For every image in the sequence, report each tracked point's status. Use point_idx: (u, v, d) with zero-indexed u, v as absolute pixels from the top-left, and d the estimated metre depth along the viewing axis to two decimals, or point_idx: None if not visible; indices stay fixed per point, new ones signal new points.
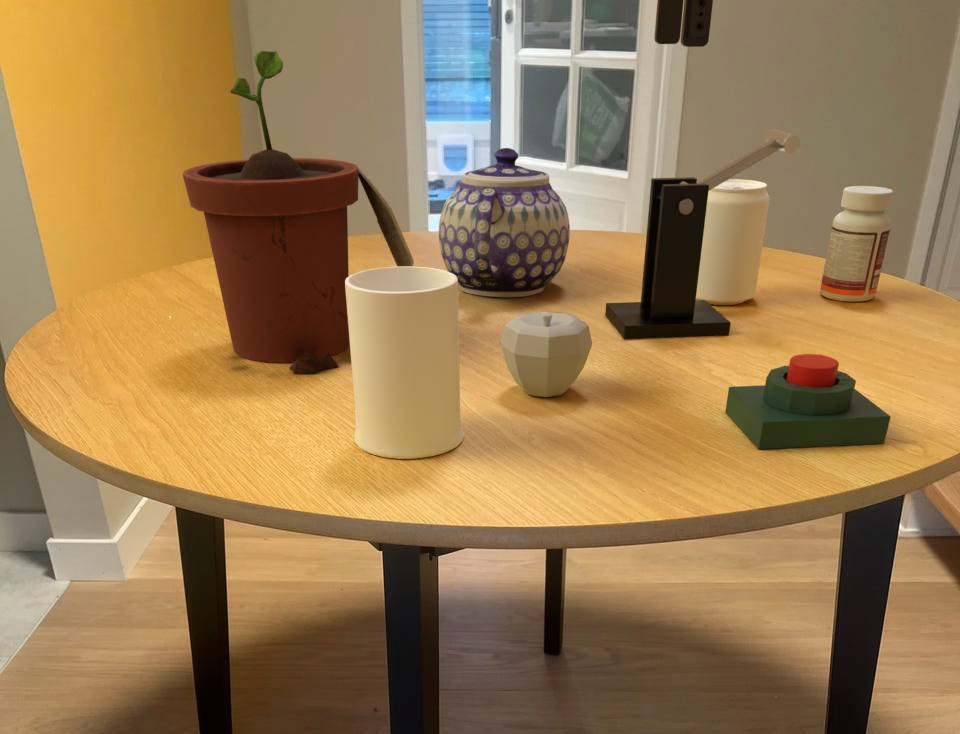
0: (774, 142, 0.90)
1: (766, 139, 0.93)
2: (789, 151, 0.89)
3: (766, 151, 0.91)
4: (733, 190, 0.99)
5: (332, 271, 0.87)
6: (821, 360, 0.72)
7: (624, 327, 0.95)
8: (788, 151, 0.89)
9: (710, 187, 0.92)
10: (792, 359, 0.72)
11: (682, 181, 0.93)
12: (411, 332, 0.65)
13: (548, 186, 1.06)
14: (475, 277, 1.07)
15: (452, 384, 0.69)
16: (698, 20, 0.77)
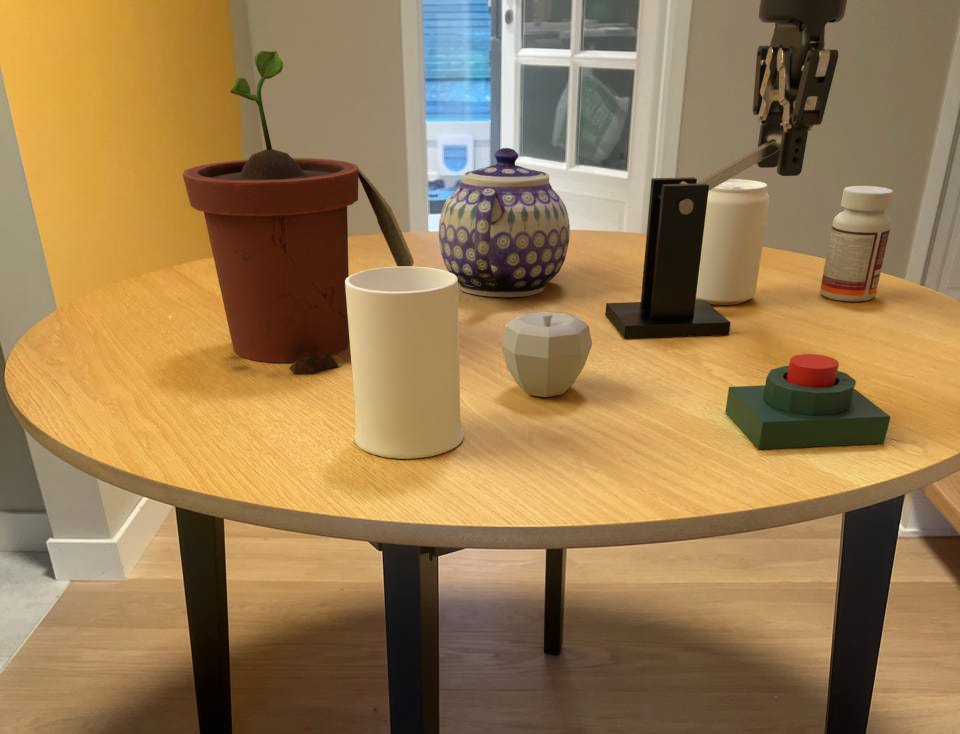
0: (774, 142, 0.91)
1: (766, 139, 0.93)
2: None
3: (766, 151, 0.91)
4: (733, 190, 0.99)
5: (332, 271, 0.87)
6: (821, 360, 0.72)
7: (624, 327, 0.95)
8: None
9: (710, 187, 0.92)
10: (792, 359, 0.72)
11: (682, 181, 0.93)
12: (411, 332, 0.65)
13: (548, 186, 1.06)
14: (475, 277, 1.07)
15: (452, 384, 0.69)
16: (794, 155, 0.88)
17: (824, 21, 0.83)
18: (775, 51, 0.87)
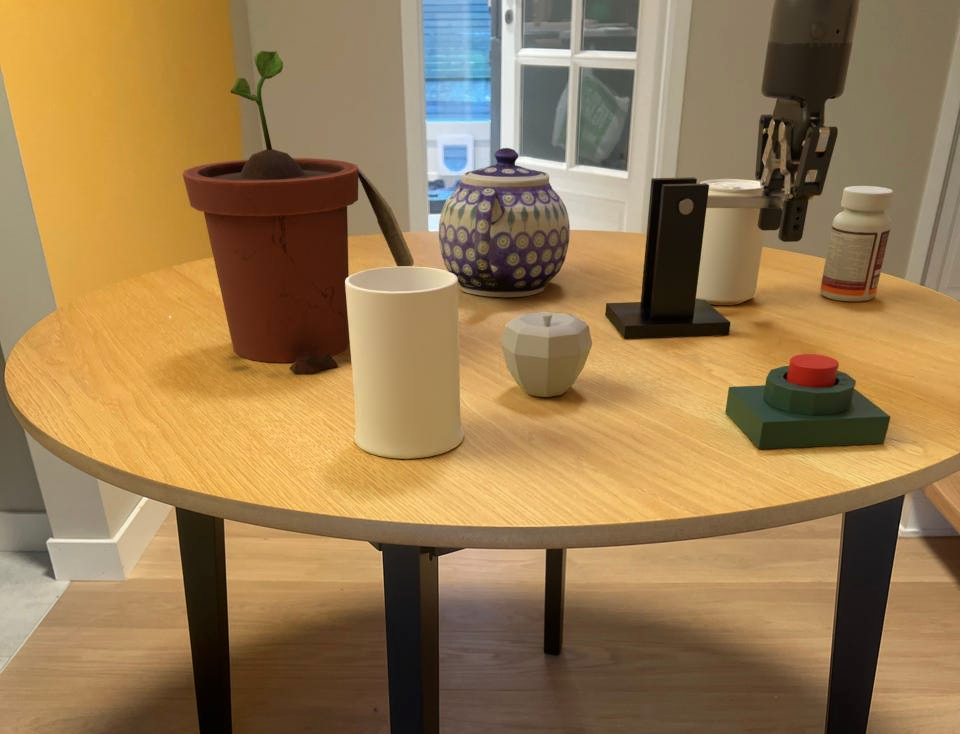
0: (779, 199, 0.93)
1: (770, 195, 0.96)
2: None
3: (769, 202, 0.94)
4: (733, 190, 0.99)
5: (332, 271, 0.87)
6: (821, 360, 0.72)
7: (624, 327, 0.95)
8: None
9: (710, 205, 0.93)
10: (792, 359, 0.72)
11: None
12: (411, 332, 0.65)
13: (548, 186, 1.06)
14: (475, 277, 1.07)
15: (452, 384, 0.69)
16: (795, 223, 0.92)
17: (824, 98, 0.86)
18: (777, 123, 0.91)
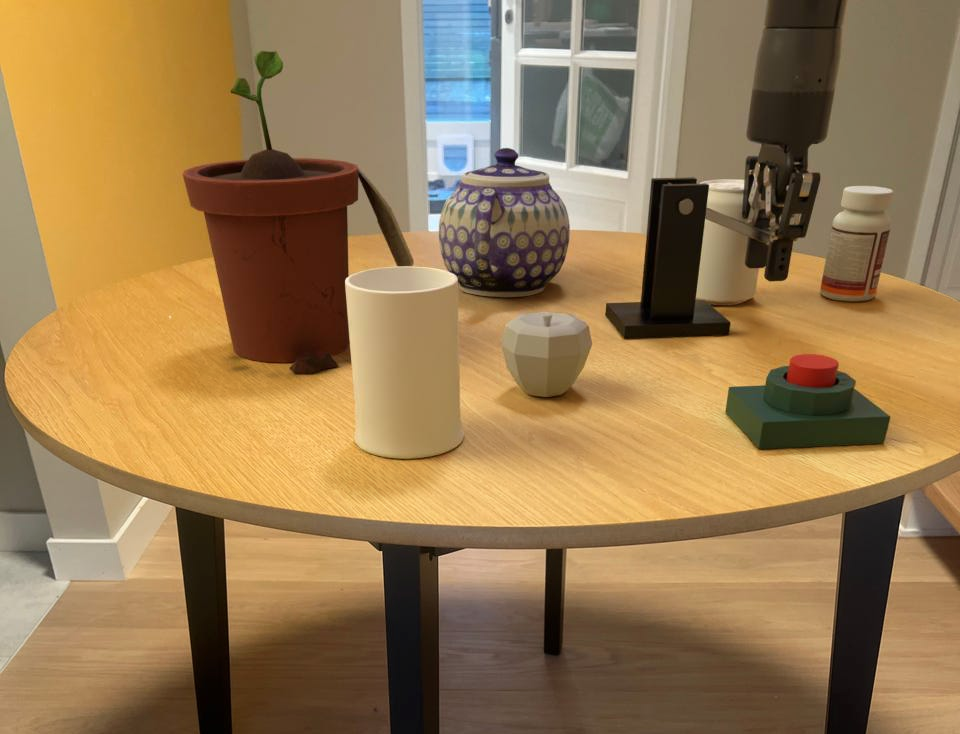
0: (768, 234, 0.95)
1: None
2: None
3: (758, 234, 0.95)
4: (733, 190, 0.99)
5: (332, 271, 0.87)
6: (821, 360, 0.72)
7: (624, 327, 0.95)
8: None
9: (706, 216, 0.94)
10: (792, 359, 0.72)
11: None
12: (411, 332, 0.65)
13: (548, 186, 1.06)
14: (475, 277, 1.07)
15: (452, 384, 0.69)
16: (780, 263, 0.94)
17: (807, 144, 0.88)
18: (762, 166, 0.93)
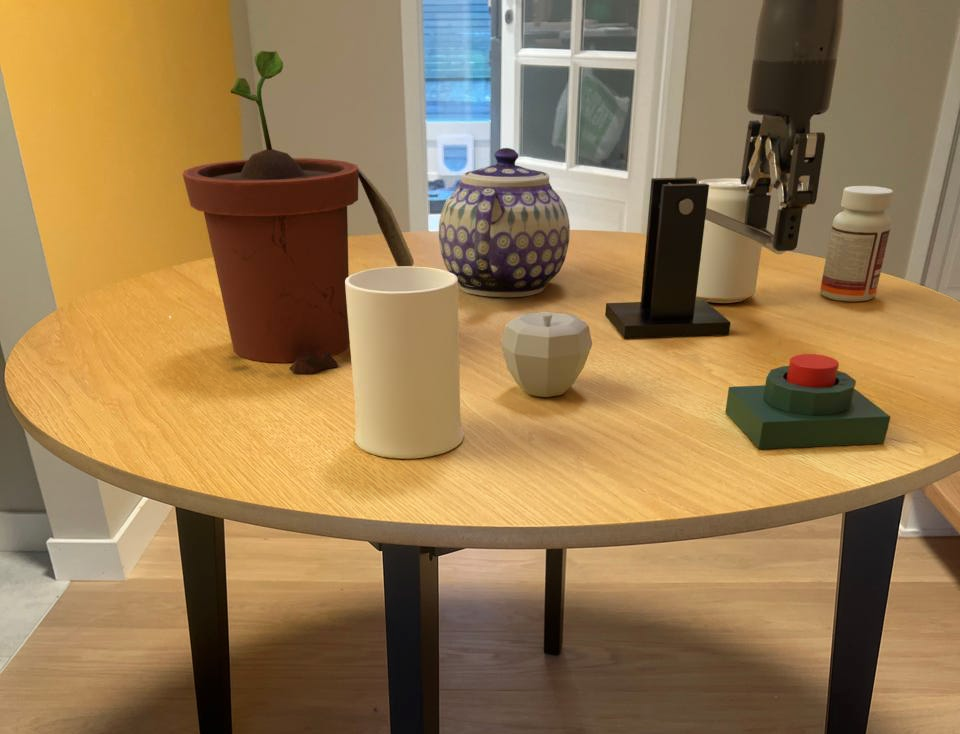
0: (768, 235, 0.95)
1: None
2: None
3: (758, 235, 0.95)
4: (732, 187, 0.99)
5: (332, 271, 0.87)
6: (821, 360, 0.72)
7: (624, 327, 0.95)
8: (774, 249, 0.94)
9: (706, 217, 0.94)
10: (792, 359, 0.72)
11: None
12: (411, 332, 0.65)
13: (548, 186, 1.06)
14: (475, 277, 1.07)
15: (452, 384, 0.69)
16: (789, 232, 0.91)
17: (809, 115, 0.87)
18: (764, 139, 0.91)
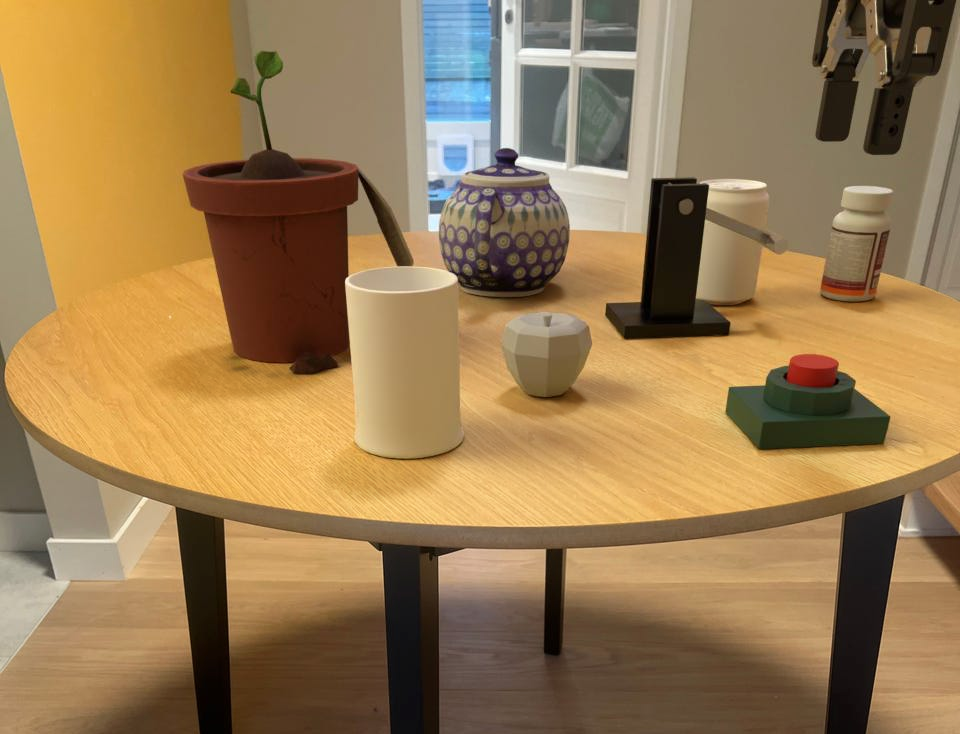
0: (768, 235, 0.95)
1: None
2: (775, 249, 0.94)
3: (758, 235, 0.95)
4: (733, 190, 0.99)
5: (332, 271, 0.87)
6: (821, 360, 0.72)
7: (624, 327, 0.95)
8: (774, 249, 0.94)
9: (706, 217, 0.94)
10: (792, 359, 0.72)
11: None
12: (411, 332, 0.65)
13: (548, 186, 1.06)
14: (475, 277, 1.07)
15: (452, 384, 0.69)
16: (892, 123, 0.59)
17: None
18: None
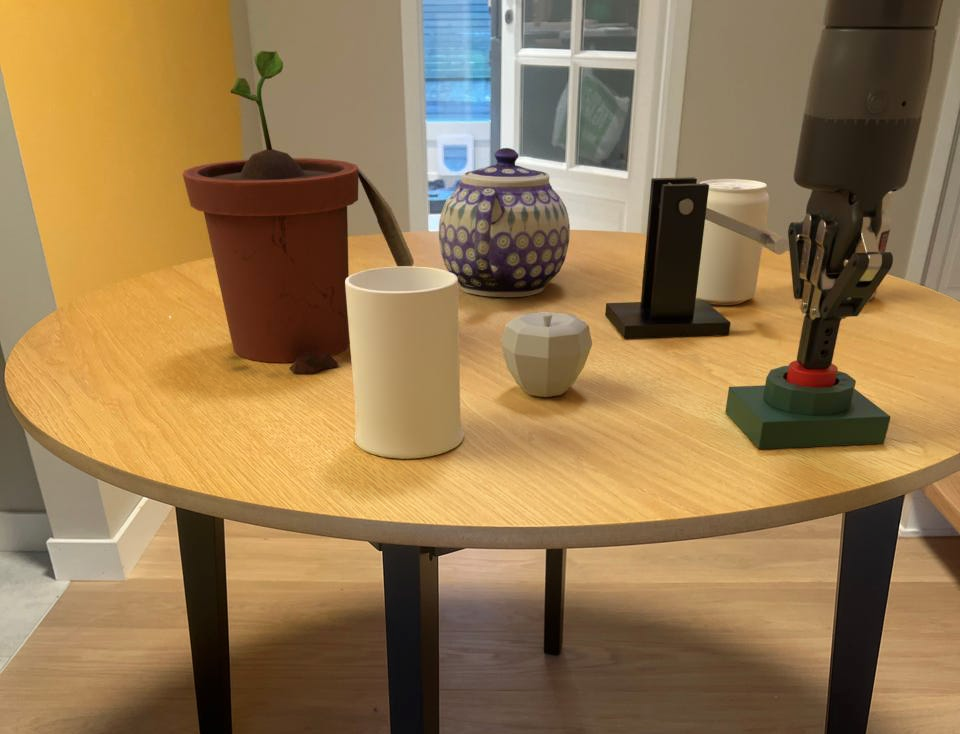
0: (768, 235, 0.95)
1: None
2: (775, 249, 0.94)
3: (758, 235, 0.95)
4: (733, 190, 0.99)
5: (332, 271, 0.87)
6: None
7: (624, 327, 0.95)
8: (774, 249, 0.94)
9: (706, 217, 0.94)
10: (791, 365, 0.73)
11: None
12: (411, 332, 0.65)
13: (548, 186, 1.06)
14: (475, 277, 1.07)
15: (452, 384, 0.69)
16: (823, 347, 0.70)
17: (882, 193, 0.62)
18: (814, 220, 0.67)
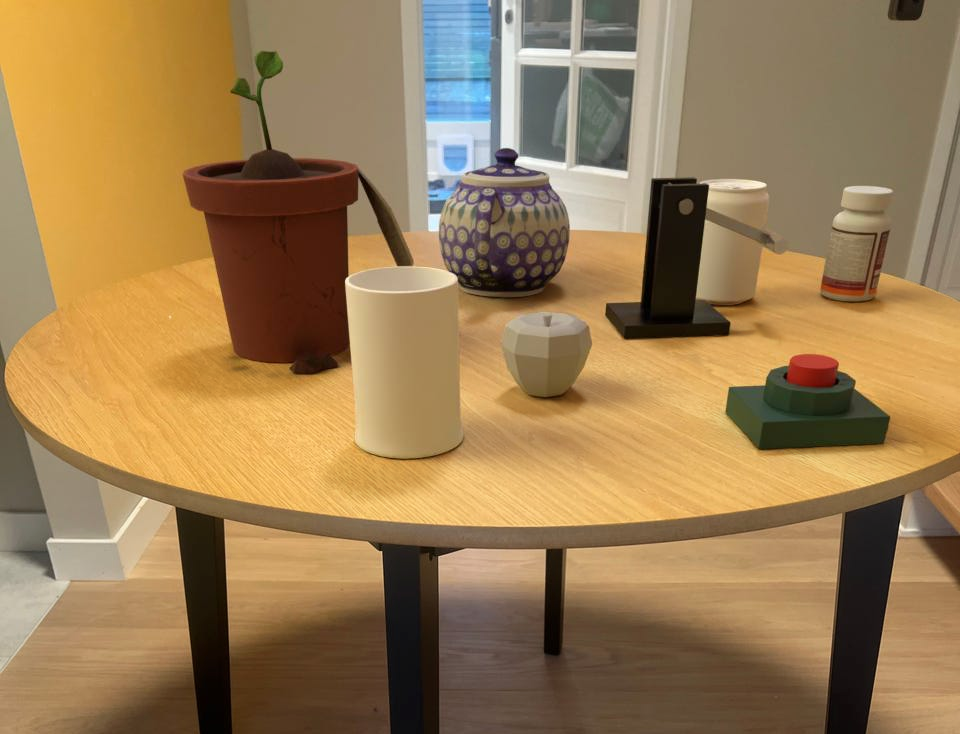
0: (768, 235, 0.95)
1: None
2: (775, 249, 0.94)
3: (758, 235, 0.95)
4: (733, 190, 0.99)
5: (332, 271, 0.87)
6: (821, 360, 0.72)
7: (624, 327, 0.95)
8: (774, 249, 0.94)
9: (706, 217, 0.94)
10: (792, 359, 0.72)
11: None
12: (411, 332, 0.65)
13: (548, 186, 1.06)
14: (475, 277, 1.07)
15: (452, 384, 0.69)
16: None
17: None
18: None
